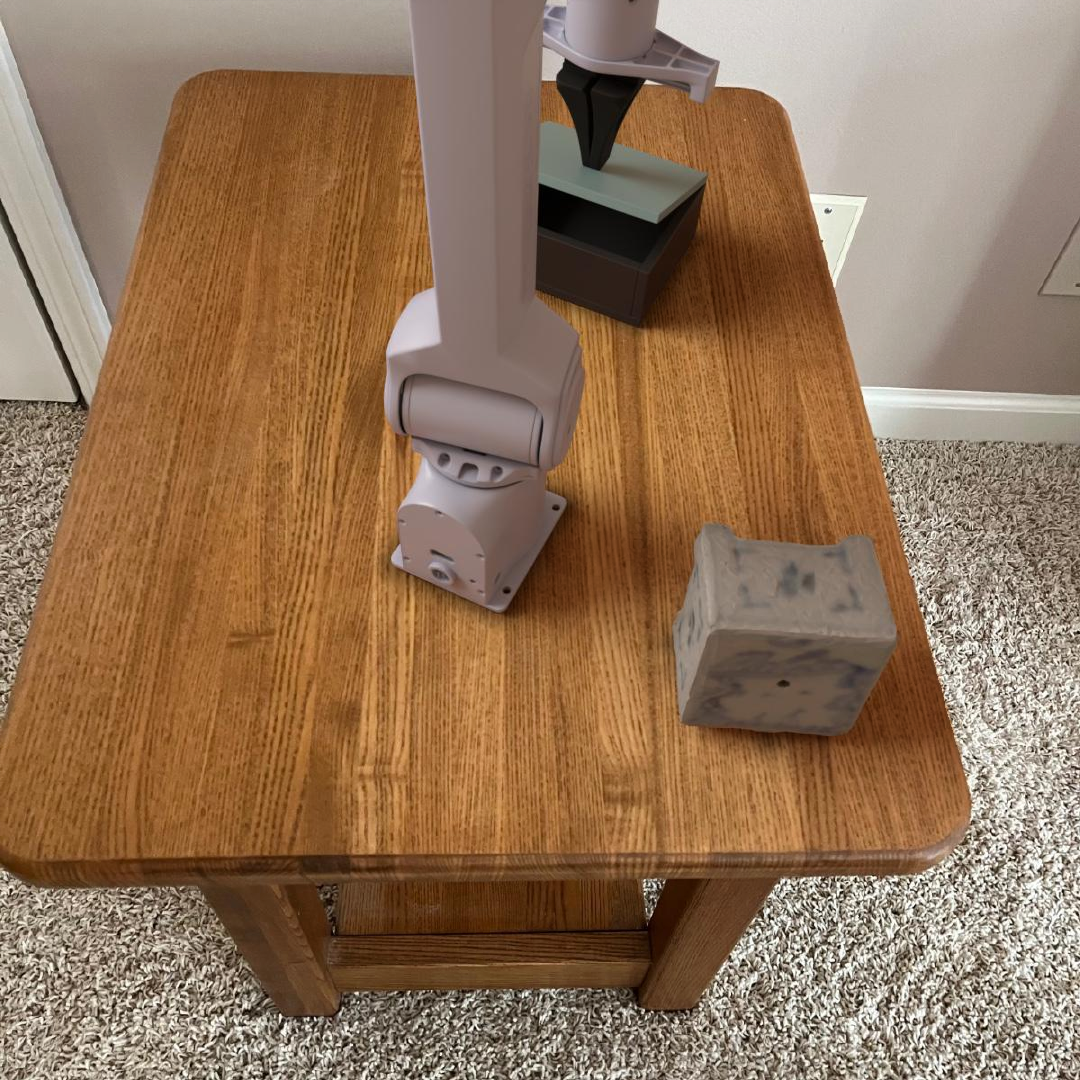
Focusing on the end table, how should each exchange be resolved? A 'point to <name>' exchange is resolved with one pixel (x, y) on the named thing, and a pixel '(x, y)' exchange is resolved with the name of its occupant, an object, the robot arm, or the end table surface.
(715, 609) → the incense holder
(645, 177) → the lid
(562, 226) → the case
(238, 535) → the end table surface
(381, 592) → the end table surface
